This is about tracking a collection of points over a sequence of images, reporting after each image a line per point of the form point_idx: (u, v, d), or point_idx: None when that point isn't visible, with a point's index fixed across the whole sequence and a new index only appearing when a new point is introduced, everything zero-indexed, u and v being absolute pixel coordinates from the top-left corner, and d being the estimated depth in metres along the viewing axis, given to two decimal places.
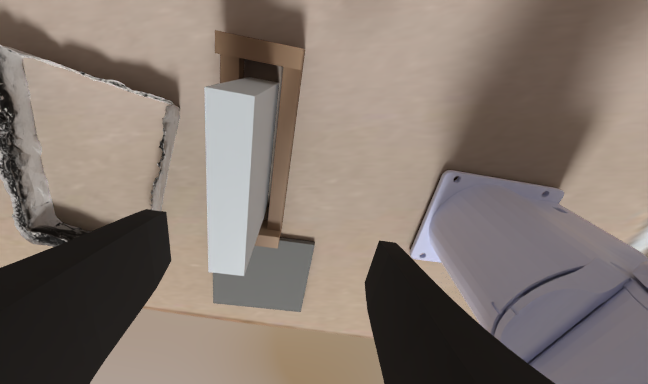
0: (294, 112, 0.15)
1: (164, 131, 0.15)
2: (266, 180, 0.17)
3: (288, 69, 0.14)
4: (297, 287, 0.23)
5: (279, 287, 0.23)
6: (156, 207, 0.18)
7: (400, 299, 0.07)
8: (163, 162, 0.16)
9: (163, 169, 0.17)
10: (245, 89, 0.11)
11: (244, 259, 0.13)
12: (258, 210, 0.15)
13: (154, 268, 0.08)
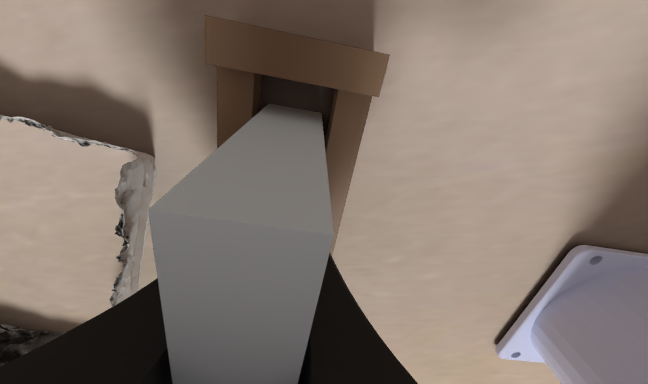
0: (351, 167, 0.09)
1: (122, 209, 0.08)
2: None
3: (348, 94, 0.07)
4: None
5: None
6: None
7: None
8: (129, 248, 0.10)
9: (131, 257, 0.10)
10: (284, 174, 0.04)
11: None
12: None
13: None
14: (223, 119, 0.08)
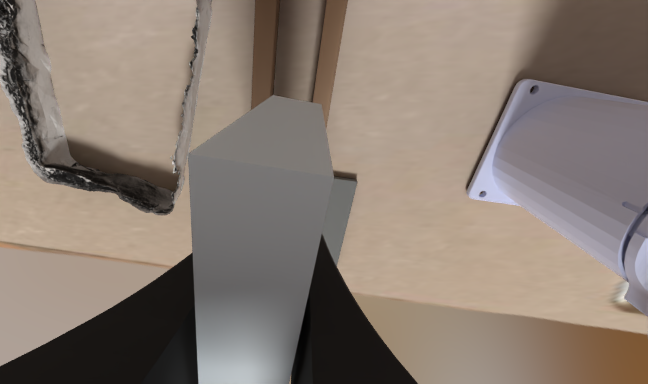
0: None
1: (197, 13, 0.12)
2: None
3: None
4: (334, 237, 0.20)
5: None
6: (186, 132, 0.15)
7: None
8: (195, 66, 0.14)
9: (194, 78, 0.14)
10: (291, 141, 0.04)
11: None
12: None
13: None
14: None
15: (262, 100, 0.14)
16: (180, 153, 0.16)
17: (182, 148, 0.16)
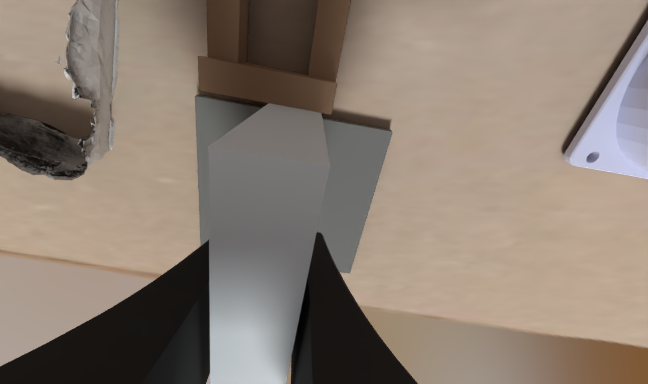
0: None
1: None
2: None
3: None
4: (350, 224, 0.13)
5: None
6: (97, 22, 0.08)
7: None
8: None
9: None
10: (293, 138, 0.05)
11: None
12: None
13: None
14: None
15: None
16: (87, 63, 0.08)
17: (91, 53, 0.08)
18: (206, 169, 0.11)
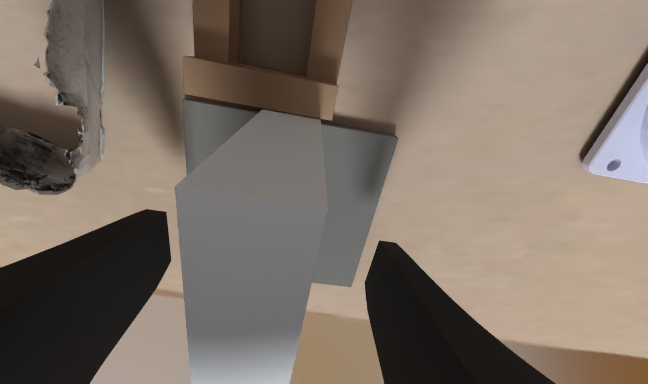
0: None
1: None
2: None
3: None
4: (352, 236, 0.12)
5: None
6: (81, 21, 0.07)
7: (400, 299, 0.07)
8: None
9: None
10: (285, 162, 0.04)
11: None
12: None
13: (154, 268, 0.08)
14: None
15: None
16: (71, 67, 0.08)
17: (75, 56, 0.08)
18: None
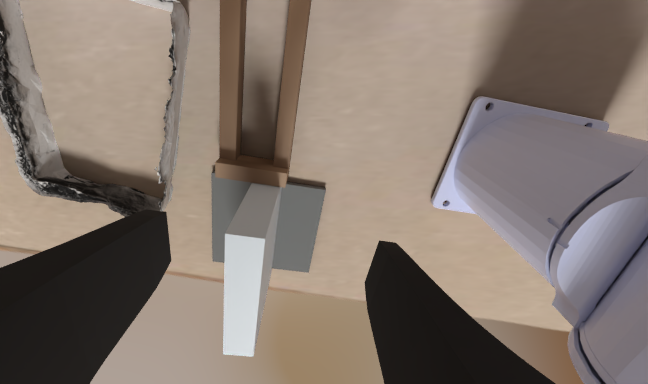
0: (306, 12, 0.13)
1: (173, 34, 0.13)
2: (271, 258, 0.19)
3: None
4: (306, 242, 0.21)
5: (285, 242, 0.21)
6: (170, 144, 0.16)
7: (400, 299, 0.07)
8: (175, 82, 0.14)
9: (175, 93, 0.15)
10: (256, 221, 0.13)
11: (254, 345, 0.15)
12: (264, 292, 0.17)
13: (154, 268, 0.08)
14: None
15: (230, 112, 0.15)
16: (165, 164, 0.16)
17: (167, 159, 0.16)
18: (217, 210, 0.19)
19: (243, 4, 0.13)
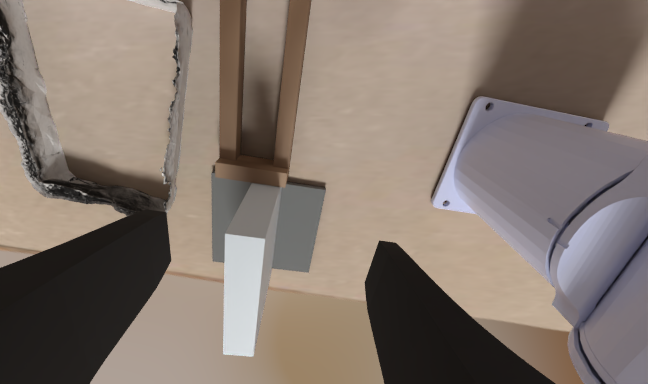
0: (306, 12, 0.13)
1: (177, 35, 0.13)
2: (271, 258, 0.19)
3: None
4: (306, 242, 0.21)
5: (285, 242, 0.21)
6: (175, 145, 0.16)
7: (400, 299, 0.07)
8: (178, 83, 0.14)
9: (179, 94, 0.15)
10: (256, 221, 0.13)
11: (254, 345, 0.15)
12: (264, 292, 0.17)
13: (154, 268, 0.08)
14: None
15: (230, 112, 0.15)
16: (170, 165, 0.16)
17: (172, 160, 0.16)
18: (217, 210, 0.19)
19: (243, 4, 0.13)
